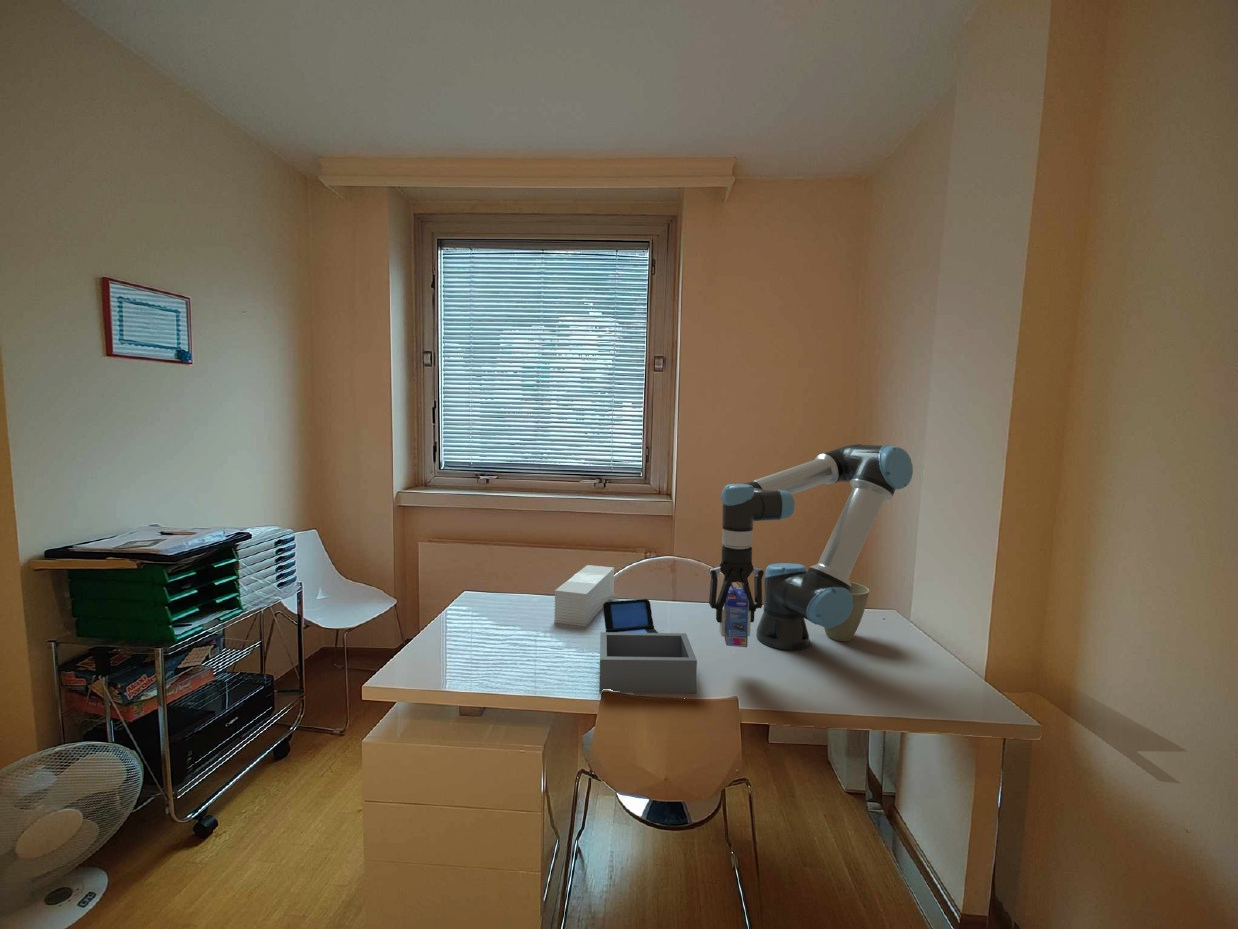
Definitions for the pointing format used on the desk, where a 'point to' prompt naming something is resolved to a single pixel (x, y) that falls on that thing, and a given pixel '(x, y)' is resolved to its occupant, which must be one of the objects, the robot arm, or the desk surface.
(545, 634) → the desk surface
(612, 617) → the handheld game console
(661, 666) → the collection bin
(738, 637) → the ink cartridge box
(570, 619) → the stack of papers
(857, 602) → the plant pot
